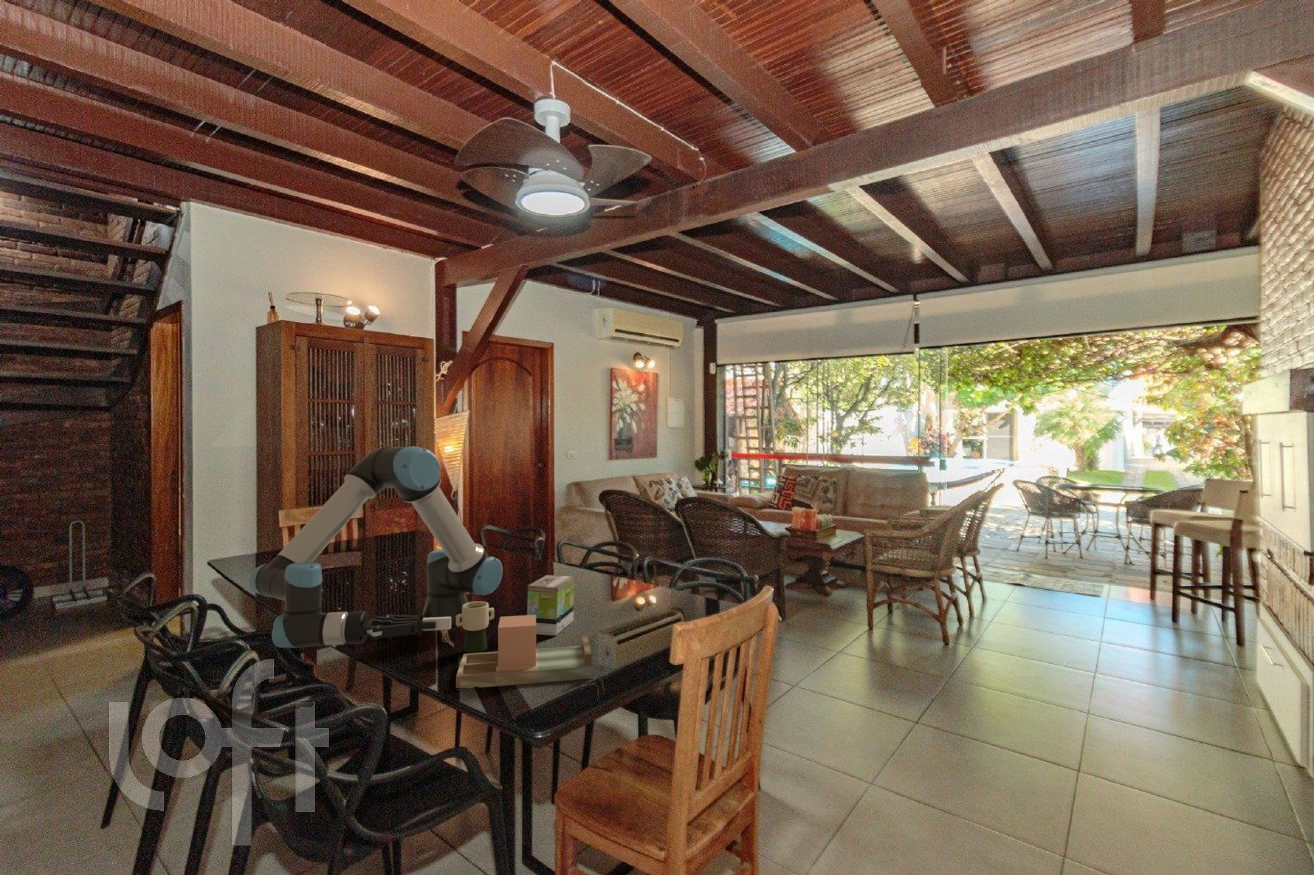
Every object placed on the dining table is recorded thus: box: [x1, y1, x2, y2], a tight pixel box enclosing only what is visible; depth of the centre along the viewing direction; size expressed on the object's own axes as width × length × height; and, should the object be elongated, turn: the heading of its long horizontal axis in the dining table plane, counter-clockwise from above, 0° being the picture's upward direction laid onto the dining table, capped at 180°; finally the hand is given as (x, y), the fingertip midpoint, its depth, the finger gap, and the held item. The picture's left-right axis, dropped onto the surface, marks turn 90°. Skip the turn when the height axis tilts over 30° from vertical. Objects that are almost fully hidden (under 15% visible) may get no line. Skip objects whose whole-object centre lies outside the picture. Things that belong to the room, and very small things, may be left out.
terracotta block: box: [497, 614, 537, 669], centre depth 153 cm, size 9×9×10 cm
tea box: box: [526, 574, 575, 636], centre depth 189 cm, size 15×10×15 cm
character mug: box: [455, 600, 495, 654], centre depth 168 cm, size 11×7×13 cm, turn 129°
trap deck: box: [455, 633, 593, 689], centre depth 153 cm, size 15×32×6 cm, turn 101°
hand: (450, 622), depth 150 cm, fingers closed
